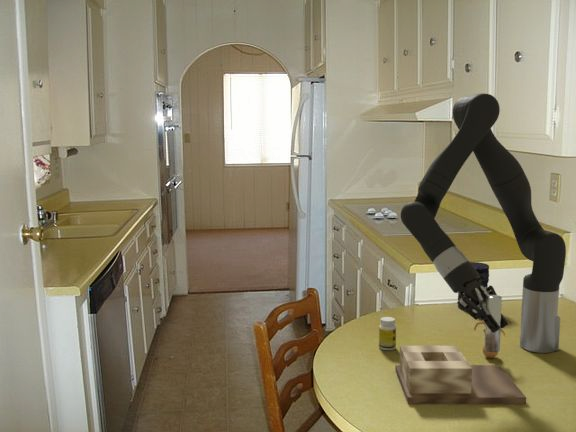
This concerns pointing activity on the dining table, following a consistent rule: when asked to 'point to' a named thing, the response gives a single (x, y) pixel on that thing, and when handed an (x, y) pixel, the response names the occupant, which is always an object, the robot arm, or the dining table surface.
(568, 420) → the dining table surface
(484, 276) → the storage jar
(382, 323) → the supplement bottle
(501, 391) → the walnut board
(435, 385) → the beech bead block
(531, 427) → the dining table surface
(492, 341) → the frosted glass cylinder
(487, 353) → the figurine
